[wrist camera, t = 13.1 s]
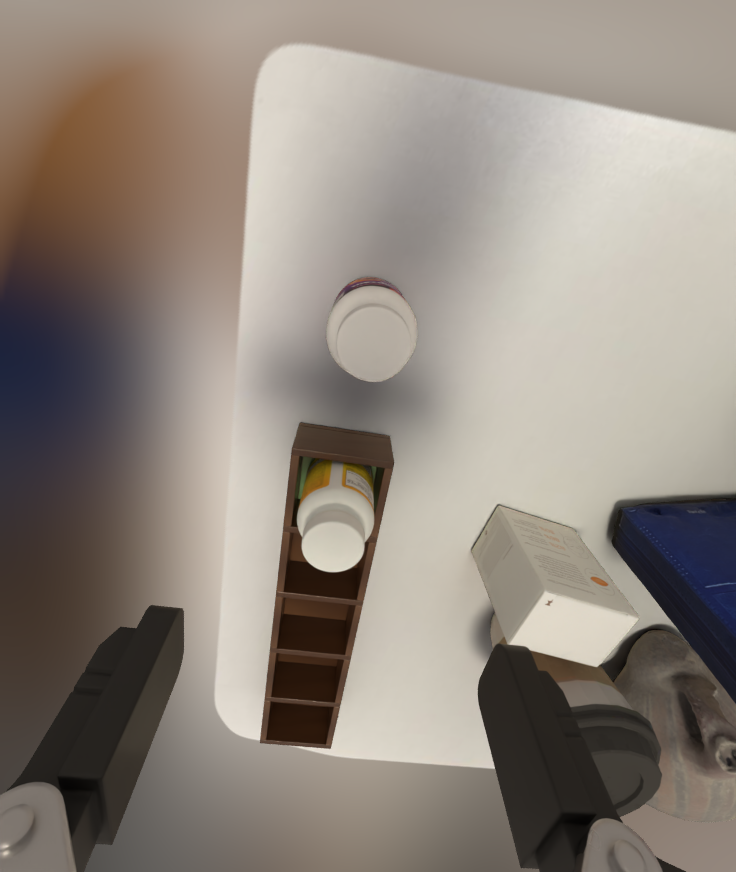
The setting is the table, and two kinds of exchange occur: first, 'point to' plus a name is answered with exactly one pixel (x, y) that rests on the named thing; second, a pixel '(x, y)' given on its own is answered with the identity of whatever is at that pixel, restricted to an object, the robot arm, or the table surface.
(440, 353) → the table surface
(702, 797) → the piggy bank
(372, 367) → the pill bottle
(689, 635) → the book
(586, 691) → the coffee cup
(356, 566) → the grid
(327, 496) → the supplement bottle
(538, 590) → the small box
